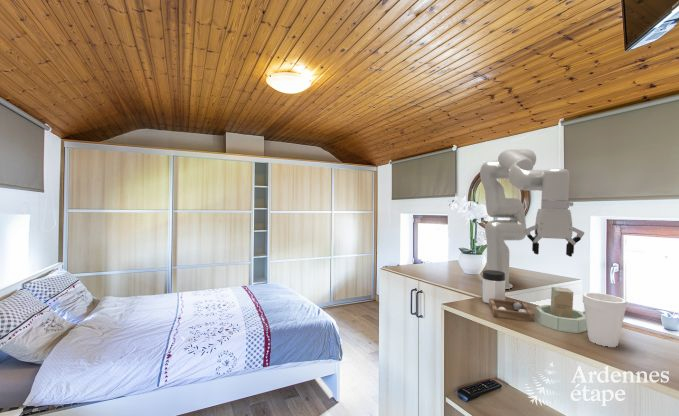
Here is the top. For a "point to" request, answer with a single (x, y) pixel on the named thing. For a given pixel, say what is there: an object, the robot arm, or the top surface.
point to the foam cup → (604, 318)
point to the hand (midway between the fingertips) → (552, 254)
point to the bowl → (561, 320)
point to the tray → (510, 314)
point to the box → (561, 302)
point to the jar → (493, 285)
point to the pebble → (517, 306)
